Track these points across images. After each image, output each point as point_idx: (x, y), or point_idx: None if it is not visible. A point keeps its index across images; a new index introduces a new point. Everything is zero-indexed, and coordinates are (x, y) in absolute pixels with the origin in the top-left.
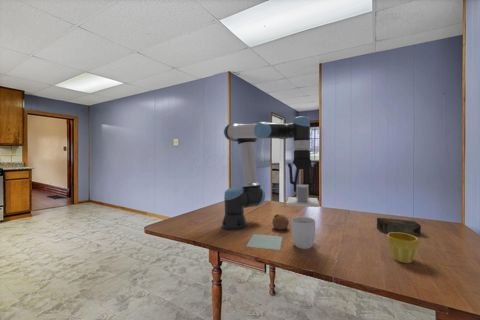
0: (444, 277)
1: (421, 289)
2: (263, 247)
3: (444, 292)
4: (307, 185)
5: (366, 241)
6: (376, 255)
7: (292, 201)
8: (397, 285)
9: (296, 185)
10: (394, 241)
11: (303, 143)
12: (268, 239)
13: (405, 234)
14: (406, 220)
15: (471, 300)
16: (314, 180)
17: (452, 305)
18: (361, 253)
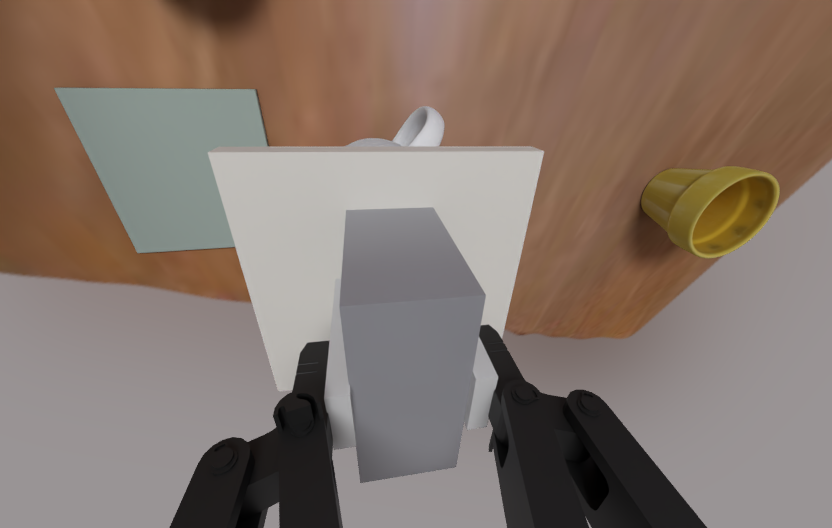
0: (678, 258)
1: (596, 312)
2: (216, 242)
3: (628, 309)
4: (478, 419)
5: (654, 43)
6: (607, 184)
7: (311, 340)
8: (562, 314)
9: (335, 448)
10: (681, 243)
11: None
12: (195, 152)
13: (770, 183)
14: None
15: (649, 317)
16: (599, 486)
17: (608, 337)
18: (568, 182)
